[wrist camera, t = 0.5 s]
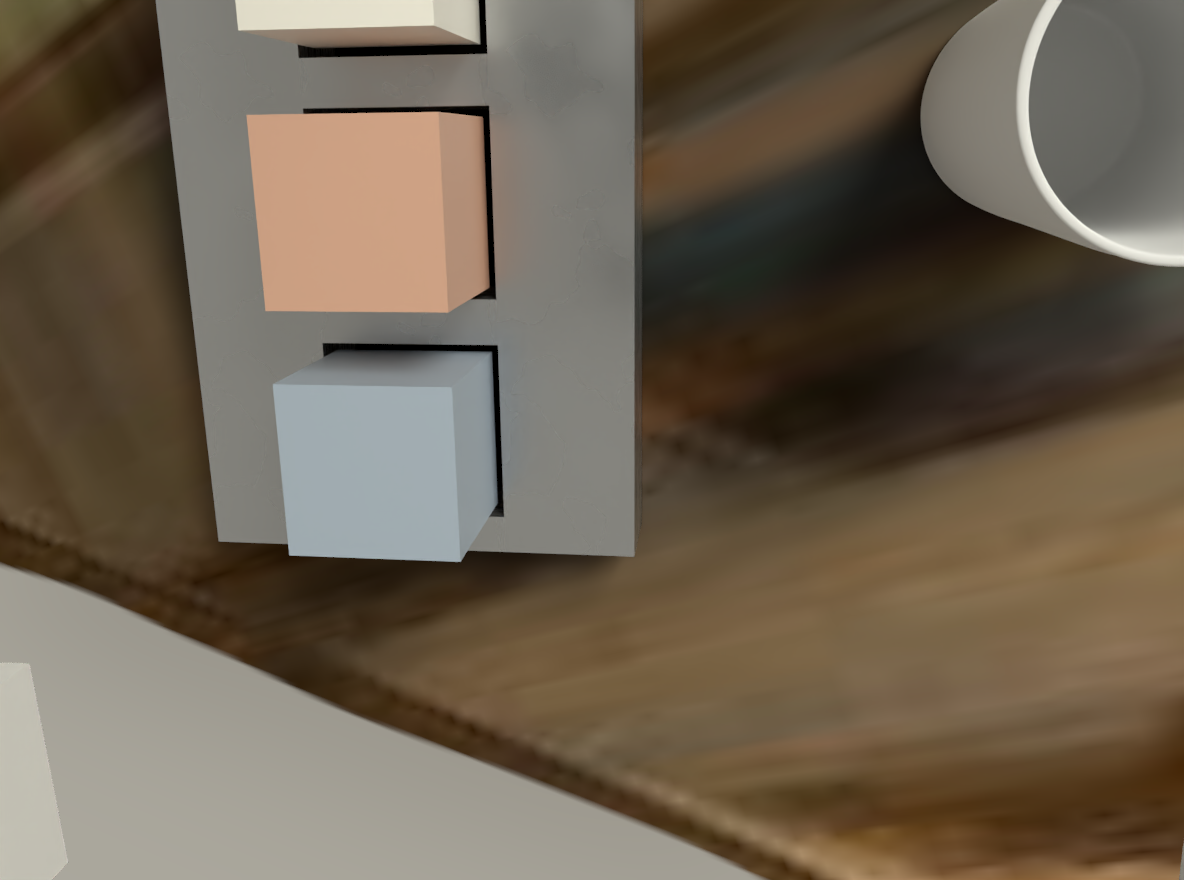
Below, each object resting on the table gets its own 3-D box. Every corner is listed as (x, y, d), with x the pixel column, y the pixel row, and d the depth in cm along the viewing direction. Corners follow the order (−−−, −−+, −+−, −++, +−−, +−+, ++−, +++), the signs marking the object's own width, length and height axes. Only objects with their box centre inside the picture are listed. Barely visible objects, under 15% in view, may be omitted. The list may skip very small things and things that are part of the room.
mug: (871, 175, 32) (954, 193, 21) (970, -49, 30) (1123, -169, 19) (1178, 294, 32) (1433, 377, 20) (1298, 76, 30) (1655, 34, 18)
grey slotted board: (185, -168, 32) (132, -199, 29) (643, -191, 30) (634, -226, 27) (256, 511, 38) (218, 541, 35) (641, 523, 36) (634, 556, 33)
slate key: (338, 349, 33) (272, 384, 28) (492, 351, 32) (451, 387, 28) (349, 498, 34) (289, 555, 30) (498, 502, 34) (460, 562, 29)
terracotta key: (319, 119, 31) (246, 114, 26) (483, 116, 30) (438, 111, 26) (333, 286, 32) (265, 311, 28) (489, 287, 32) (448, 312, 27)
